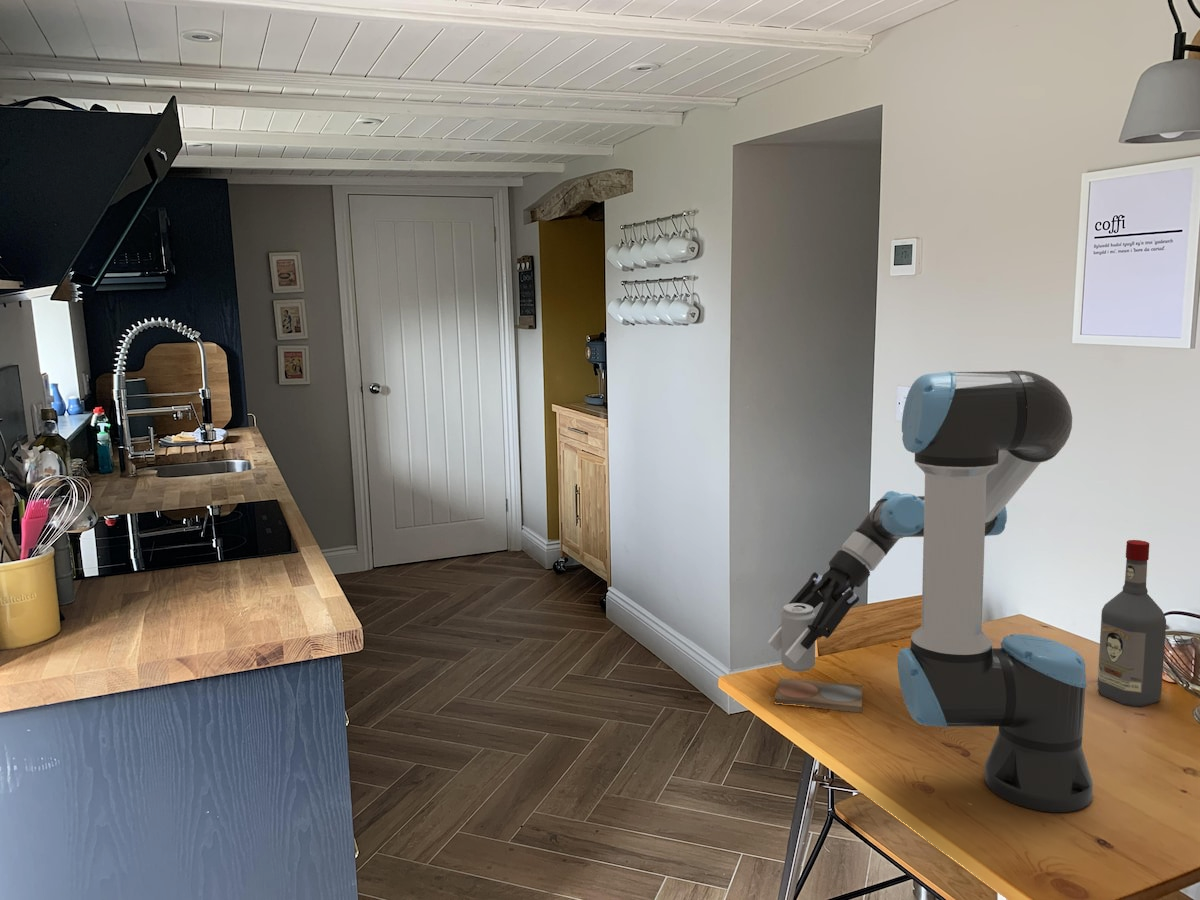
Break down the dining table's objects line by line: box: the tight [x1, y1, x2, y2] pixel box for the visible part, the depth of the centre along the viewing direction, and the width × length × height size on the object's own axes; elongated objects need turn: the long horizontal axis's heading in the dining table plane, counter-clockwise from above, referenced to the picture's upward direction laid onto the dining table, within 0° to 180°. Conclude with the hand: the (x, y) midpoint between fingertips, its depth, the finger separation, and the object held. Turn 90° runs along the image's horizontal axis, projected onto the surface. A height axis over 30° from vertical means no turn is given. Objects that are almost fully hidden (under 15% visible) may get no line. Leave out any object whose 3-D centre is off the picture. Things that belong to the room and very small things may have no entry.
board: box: [774, 677, 864, 714], centre depth 176 cm, size 10×16×1 cm, turn 73°
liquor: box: [1097, 539, 1167, 707], centre depth 171 cm, size 9×9×30 cm
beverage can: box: [780, 603, 816, 672], centre depth 176 cm, size 6×6×12 cm
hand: (781, 652), depth 175 cm, fingers closed on beverage can, 6 cm apart
